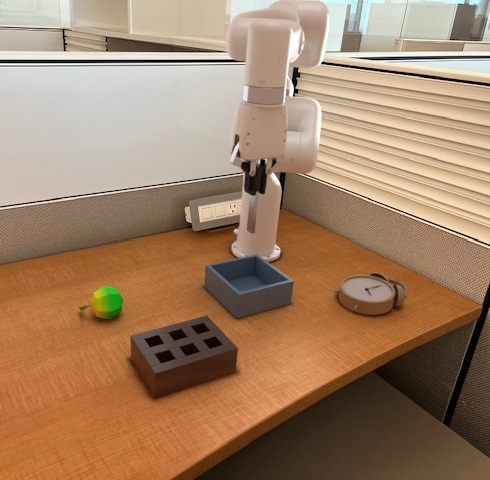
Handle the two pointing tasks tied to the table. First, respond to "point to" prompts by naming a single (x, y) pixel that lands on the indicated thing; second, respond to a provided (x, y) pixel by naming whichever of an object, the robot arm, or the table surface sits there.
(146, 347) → the block
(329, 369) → the table surface
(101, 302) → the apple
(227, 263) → the bin
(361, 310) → the alarm clock
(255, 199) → the knife
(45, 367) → the table surface
